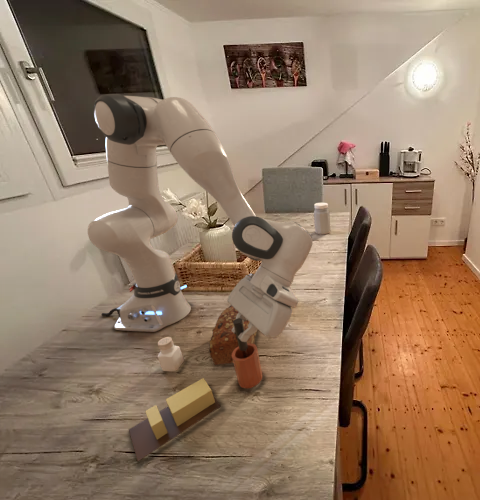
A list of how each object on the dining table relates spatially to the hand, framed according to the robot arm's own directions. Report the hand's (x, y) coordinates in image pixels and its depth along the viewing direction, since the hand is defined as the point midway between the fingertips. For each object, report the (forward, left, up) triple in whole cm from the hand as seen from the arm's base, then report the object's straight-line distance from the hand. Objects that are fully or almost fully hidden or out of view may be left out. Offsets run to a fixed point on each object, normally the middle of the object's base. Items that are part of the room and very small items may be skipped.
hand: (238, 336), depth 65 cm
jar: (+19, +111, -15) cm, 114 cm away
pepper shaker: (-22, +7, -15) cm, 27 cm away
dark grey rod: (0, 0, -14) cm, 14 cm away
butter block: (-11, -6, -14) cm, 19 cm away
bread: (-7, +15, -15) cm, 22 cm away
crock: (0, 0, -15) cm, 15 cm away
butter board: (-14, -9, -15) cm, 22 cm away
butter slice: (-16, -11, -14) cm, 24 cm away
